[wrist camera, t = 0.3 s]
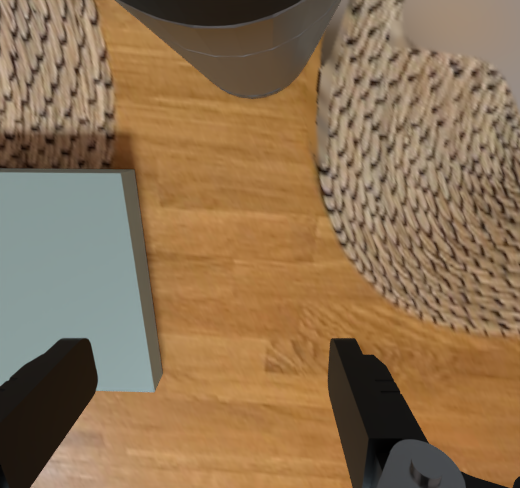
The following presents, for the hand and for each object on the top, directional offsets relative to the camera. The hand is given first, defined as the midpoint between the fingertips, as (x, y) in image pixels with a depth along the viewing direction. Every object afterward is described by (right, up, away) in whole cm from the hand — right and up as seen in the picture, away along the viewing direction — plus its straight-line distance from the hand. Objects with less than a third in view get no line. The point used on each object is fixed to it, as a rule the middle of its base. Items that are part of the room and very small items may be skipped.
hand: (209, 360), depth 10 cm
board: (-20, 0, +20) cm, 28 cm away
